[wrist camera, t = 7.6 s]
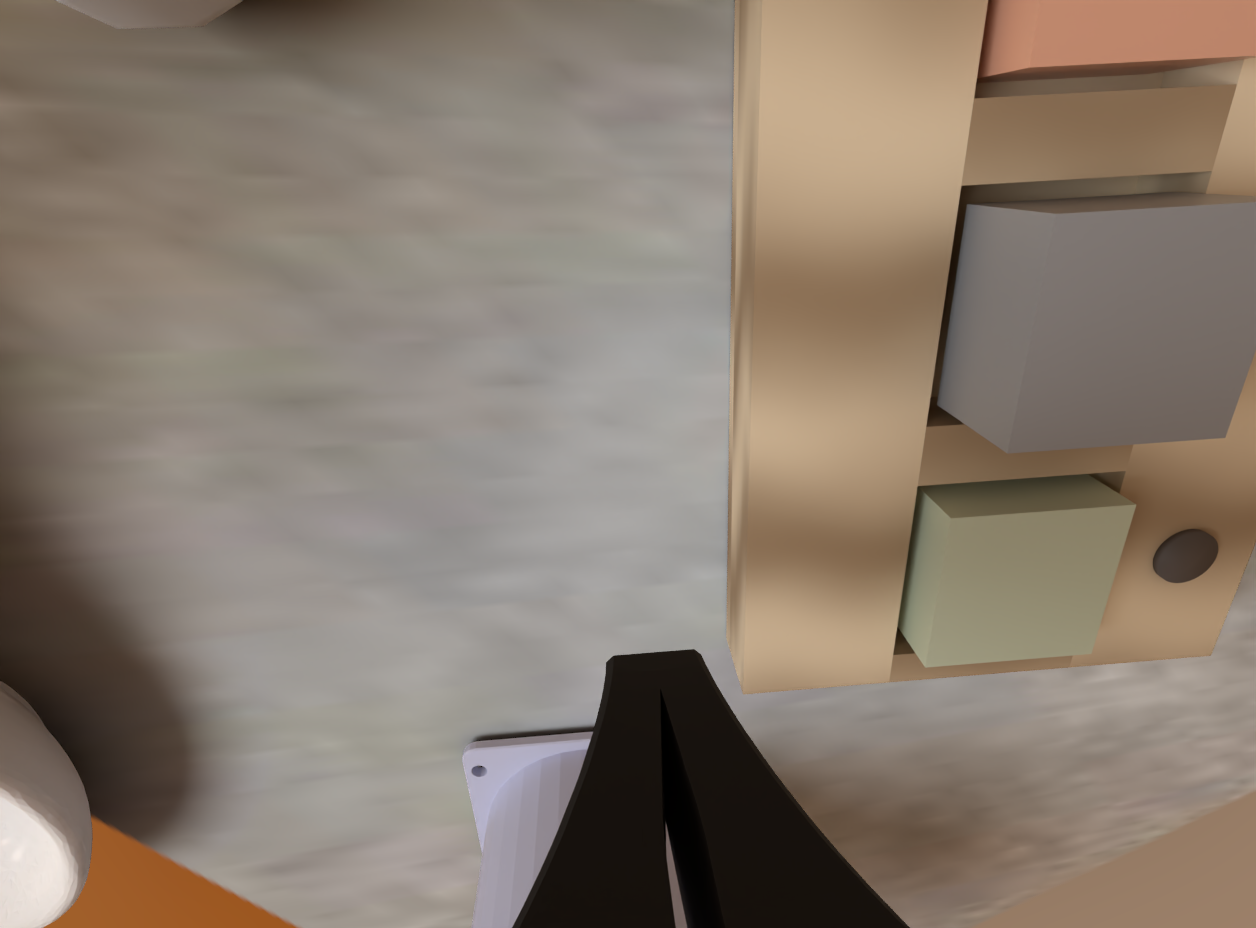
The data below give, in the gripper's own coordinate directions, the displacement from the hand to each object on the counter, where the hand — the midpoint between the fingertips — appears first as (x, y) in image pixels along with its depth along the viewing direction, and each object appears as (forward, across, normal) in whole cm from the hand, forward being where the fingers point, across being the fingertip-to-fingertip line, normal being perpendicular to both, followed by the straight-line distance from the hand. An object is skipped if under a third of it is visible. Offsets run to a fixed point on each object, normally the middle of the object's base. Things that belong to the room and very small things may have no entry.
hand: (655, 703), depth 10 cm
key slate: (+7, -10, -4) cm, 13 cm away
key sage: (+9, -10, +3) cm, 14 cm away
